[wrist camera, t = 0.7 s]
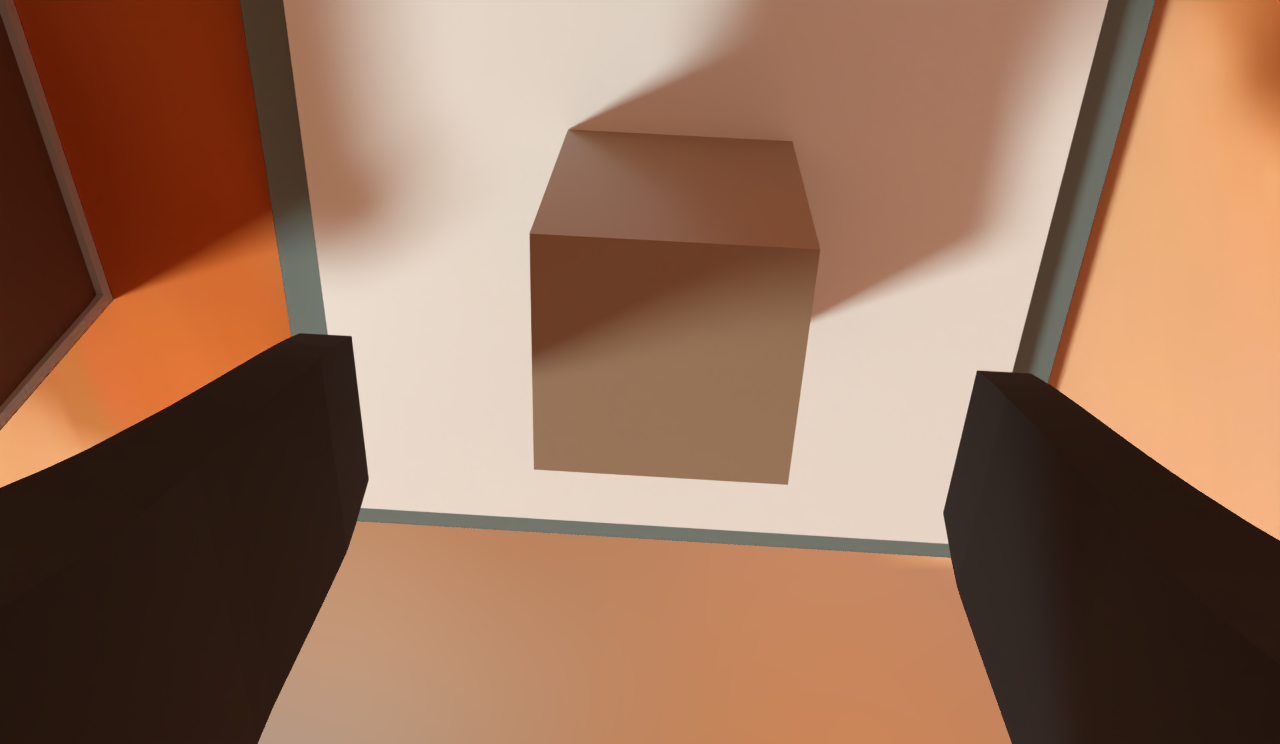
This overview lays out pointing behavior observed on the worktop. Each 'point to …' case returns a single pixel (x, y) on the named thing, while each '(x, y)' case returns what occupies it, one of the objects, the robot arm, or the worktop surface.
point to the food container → (38, 232)
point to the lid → (682, 245)
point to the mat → (1034, 356)
